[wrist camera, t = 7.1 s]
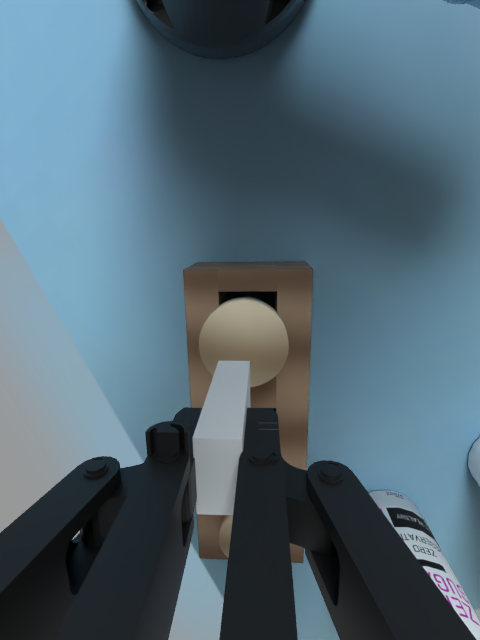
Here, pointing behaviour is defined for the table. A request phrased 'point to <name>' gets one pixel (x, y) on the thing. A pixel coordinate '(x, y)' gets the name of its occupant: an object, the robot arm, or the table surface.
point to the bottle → (475, 460)
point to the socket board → (281, 391)
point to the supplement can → (426, 551)
